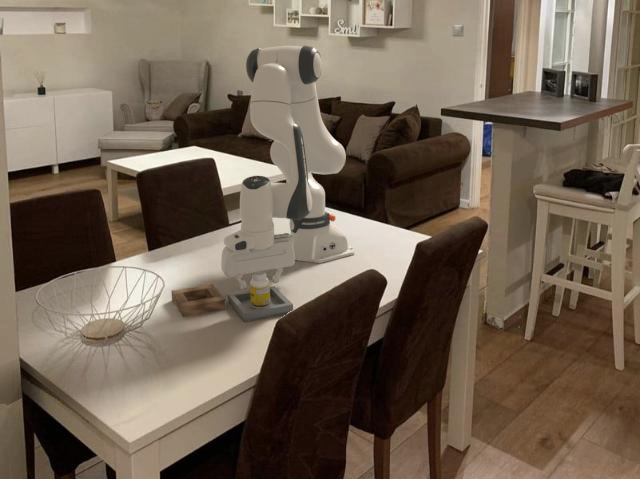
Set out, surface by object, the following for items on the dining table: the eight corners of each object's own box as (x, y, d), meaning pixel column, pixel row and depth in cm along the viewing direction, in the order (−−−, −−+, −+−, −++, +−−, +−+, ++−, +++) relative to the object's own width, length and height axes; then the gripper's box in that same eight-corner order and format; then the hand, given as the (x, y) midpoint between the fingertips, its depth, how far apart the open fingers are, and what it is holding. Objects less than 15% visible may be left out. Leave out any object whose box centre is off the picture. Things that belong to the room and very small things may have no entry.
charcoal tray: (274, 294, 211) (274, 286, 210) (293, 312, 199) (293, 304, 198) (228, 302, 205) (227, 294, 204) (244, 322, 193) (244, 313, 192)
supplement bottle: (250, 301, 204) (249, 269, 201) (270, 301, 205) (269, 268, 201) (250, 309, 199) (249, 276, 196) (270, 309, 200) (269, 275, 196)
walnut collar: (213, 293, 211) (212, 283, 210) (225, 309, 201) (225, 299, 200) (172, 300, 207) (171, 290, 206) (182, 317, 196) (182, 306, 195)
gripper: (289, 228, 202) (290, 275, 207) (218, 239, 194) (220, 287, 199) (298, 235, 197) (298, 282, 201) (225, 246, 189) (227, 295, 193)
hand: (259, 285), depth 200 cm, fingers open, 8 cm apart
